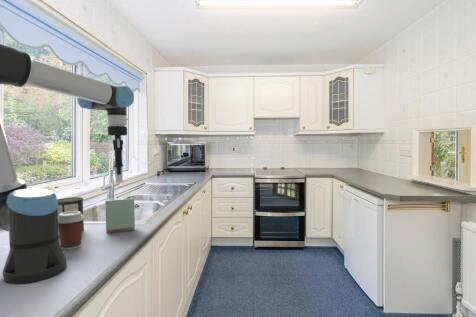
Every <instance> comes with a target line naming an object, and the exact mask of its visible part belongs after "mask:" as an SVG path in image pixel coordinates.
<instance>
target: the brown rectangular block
mask: <svg viewBox="0 0 476 317" xmlns="http://www.w3.org/2000/svg"><path fill="white" fill-rule="evenodd" d="M135 227H136V226H135ZM135 227H131V228H123V229H114V230H106V229H105V231H106V232H105V233H106V234H108V233H110V234H111V233H118V232H117V231H119V232H125V231H126V230H127V231H134V230H133V229H135ZM135 230H136V229H135ZM127 231H126V232H127Z"/></svg>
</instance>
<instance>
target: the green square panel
mask: <svg viewBox="0 0 476 317" xmlns="http://www.w3.org/2000/svg"><path fill="white" fill-rule="evenodd" d="M104 204H105V206H104V207H105V231H106V230H114V229H123V228H131V227H136V226H135V224H136V221H135V216H136V215H135V198H133V197H132V198H120V199H119V198H118V199H117V198H116V199H109V200H108V199H107V200H106V199H105V202H104Z"/></svg>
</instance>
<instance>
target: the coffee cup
mask: <svg viewBox="0 0 476 317" xmlns="http://www.w3.org/2000/svg"><path fill="white" fill-rule="evenodd" d="M83 220H85V215H84V214H83V215H82V214H81V212H80V211H69V212H63V213H60V214H59V217H58V229H59V236H60V237H59V243H60V245H61V248H62V250H65V251H66V250H73V249H77V248H80V247H81V246H82V239H83V238H82V236H83V234H82V221H83Z"/></svg>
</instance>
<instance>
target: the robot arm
mask: <svg viewBox="0 0 476 317" xmlns="http://www.w3.org/2000/svg"><path fill="white" fill-rule="evenodd" d="M0 85H7V86H13V87H17V88H18V87H19V88H23V87H25V86H28V87H33V88H37V89H41V90H44V91H49V92H53V93H56V94H57V93H58V94H61V95H64V96H70V97H73V98H77V99H76V101H77V104H78V106H79V107H80V108H82V109H84V110H85V109H86V110H95V111H96V110H97V111H105V112H106V121H107V125H108V126H107V135H108V136H114V139H112V144H113V145H112V146H113V151H114V165H113V168H114V171H115V183H123V167H124V164H123V146H124V140H123V139H122V136H128V127H127V124H128V122H127V121H129V118H128V117H127V107H130V106H132V105H133V104H134V101H135V94H134V92H133V89H131V88H130V87H129V86H127V85H117V86H116V85H114V84H111V83H107V82H104V81H101V80H98V79H95V78H92V77H88V76H85V75H83V74H80V73H78V72H74V71H71V70H68V69H64V68H62V67H59V66H55V65H53V64H50V63H47V62H44V61H40V60H38V59H35V58H32V56H31V54H29V53H28V52H25V51H22V50H19V49H17V48H13V47H10V46H8V45H4V44H2V43H0ZM57 199H58V197H57V194H56V192H54V191H53V190H49V189H47V188H46V189H45V188H34V187H33V188H31V187H30V188H28V187H27V184H26V180H24V179H21V178H19V177H18V174H17V171H16V166H15V164H14V160H13V157H12V153H11V150H10V147H9V142H8V140H7V136H6V133H5V129H4V126H3V122H2V118H1V117H0V230H1V231H5V232H8V237H9V251H8V253H7V254H8V255H7V258H6V261H5V264H4V266H3V269H2V278H3V281H4V282H6V283H8V284H15V285H16V284H17V285H18V284H28V283H34V282H40V281H43V280H46V279H50V278H52V277H54V276H57V275H59V274H60V273H62V272H64V271H65V269H66V268H67V265H68V264H67V263H68V262H67V258H66V255H65V252H64V249H62V248H61V243H60V237H59V235H58V202H57Z"/></svg>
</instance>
